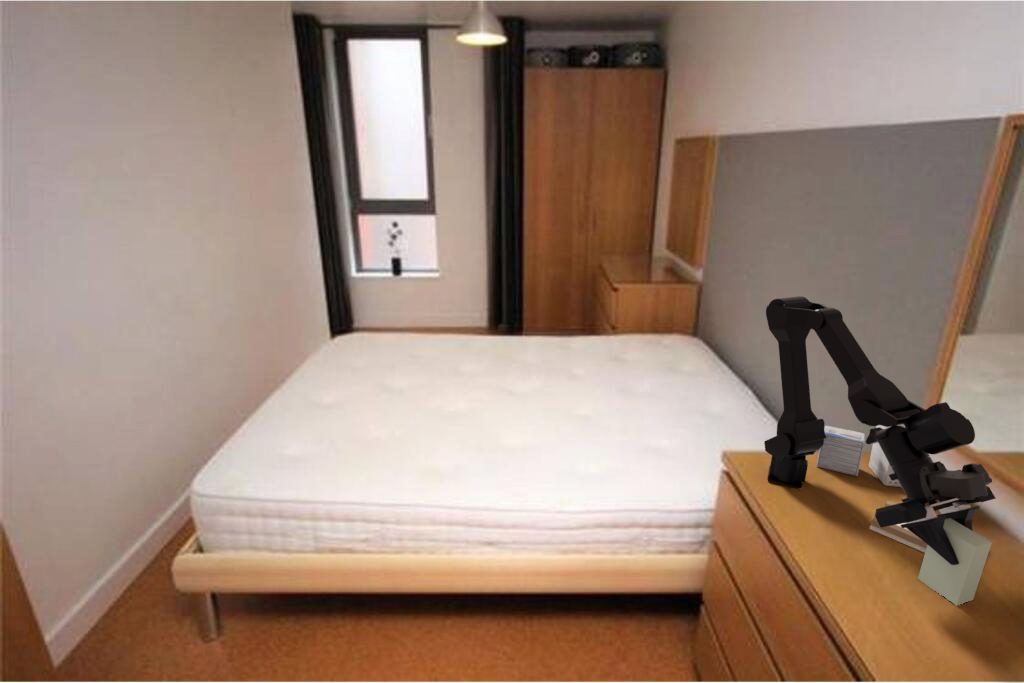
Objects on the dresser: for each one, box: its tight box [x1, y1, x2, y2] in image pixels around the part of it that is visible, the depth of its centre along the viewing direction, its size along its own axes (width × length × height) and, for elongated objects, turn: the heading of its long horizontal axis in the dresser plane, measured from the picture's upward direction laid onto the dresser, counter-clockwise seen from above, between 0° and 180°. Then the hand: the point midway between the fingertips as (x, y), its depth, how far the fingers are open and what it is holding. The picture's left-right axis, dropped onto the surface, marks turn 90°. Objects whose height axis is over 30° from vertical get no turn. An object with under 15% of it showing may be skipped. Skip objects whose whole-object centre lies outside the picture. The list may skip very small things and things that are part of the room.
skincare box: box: [868, 424, 906, 488], centre depth 113 cm, size 8×7×16 cm
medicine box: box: [816, 425, 866, 477], centre depth 118 cm, size 8×4×9 cm, turn 58°
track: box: [869, 500, 928, 554], centre depth 97 cm, size 14×10×2 cm
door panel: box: [917, 518, 993, 607], centre depth 83 cm, size 6×4×11 cm, turn 18°
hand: (964, 561), depth 82 cm, fingers closed on door panel, 3 cm apart
